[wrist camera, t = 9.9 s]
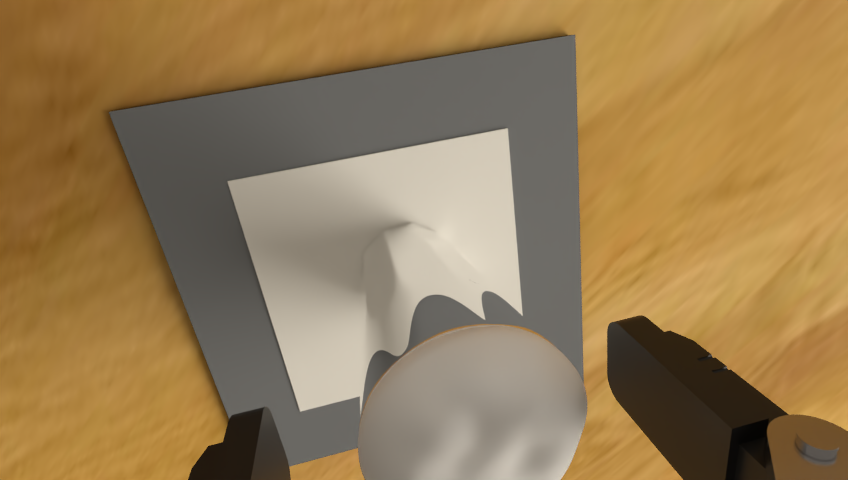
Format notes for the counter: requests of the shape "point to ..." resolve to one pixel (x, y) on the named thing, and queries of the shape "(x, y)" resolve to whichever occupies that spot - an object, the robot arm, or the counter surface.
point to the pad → (358, 213)
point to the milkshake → (456, 373)
